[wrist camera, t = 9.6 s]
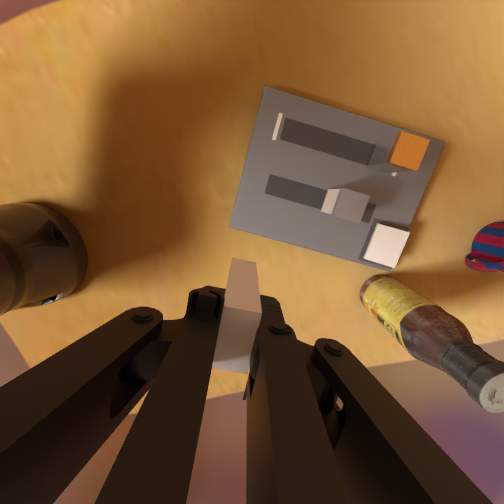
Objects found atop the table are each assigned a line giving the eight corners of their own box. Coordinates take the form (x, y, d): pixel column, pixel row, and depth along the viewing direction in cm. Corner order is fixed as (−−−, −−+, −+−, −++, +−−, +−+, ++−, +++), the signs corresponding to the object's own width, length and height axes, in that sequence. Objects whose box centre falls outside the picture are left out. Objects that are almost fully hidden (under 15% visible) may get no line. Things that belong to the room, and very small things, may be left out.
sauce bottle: (350, 299, 39) (441, 404, 20) (373, 266, 38) (495, 344, 19) (384, 317, 40) (504, 436, 21) (408, 285, 39) (560, 380, 20)
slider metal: (366, 167, 32) (389, 162, 27) (375, 141, 32) (401, 131, 26) (389, 174, 33) (417, 170, 27) (399, 148, 32) (430, 140, 26)
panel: (229, 225, 37) (228, 227, 35) (264, 91, 33) (264, 85, 31) (383, 267, 38) (390, 271, 36) (435, 145, 34) (446, 142, 32)
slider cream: (319, 211, 34) (333, 215, 28) (327, 188, 33) (342, 187, 28) (342, 218, 34) (359, 223, 28) (350, 194, 33) (370, 195, 28)
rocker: (362, 256, 36) (364, 258, 34) (375, 222, 35) (378, 223, 33) (390, 265, 35) (394, 268, 34) (405, 231, 34) (410, 232, 32)
